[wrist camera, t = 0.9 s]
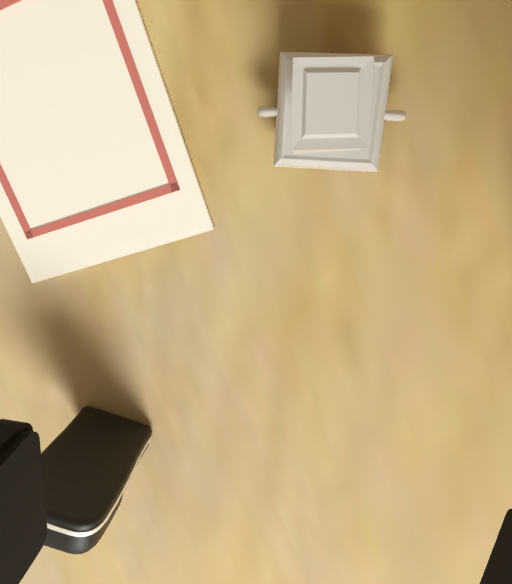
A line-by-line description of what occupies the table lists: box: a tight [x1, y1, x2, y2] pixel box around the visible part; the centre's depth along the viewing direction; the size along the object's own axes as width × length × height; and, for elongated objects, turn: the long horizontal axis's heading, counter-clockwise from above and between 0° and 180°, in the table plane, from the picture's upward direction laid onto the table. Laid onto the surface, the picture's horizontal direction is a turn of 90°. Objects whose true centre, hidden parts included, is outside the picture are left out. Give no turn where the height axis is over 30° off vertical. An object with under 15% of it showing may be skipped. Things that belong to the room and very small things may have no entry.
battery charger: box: [41, 407, 152, 554], centre depth 36 cm, size 7×4×11 cm, turn 74°
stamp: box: [257, 52, 406, 172], centre depth 26 cm, size 9×7×8 cm
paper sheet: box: [0, 0, 215, 283], centre depth 32 cm, size 16×22×1 cm
